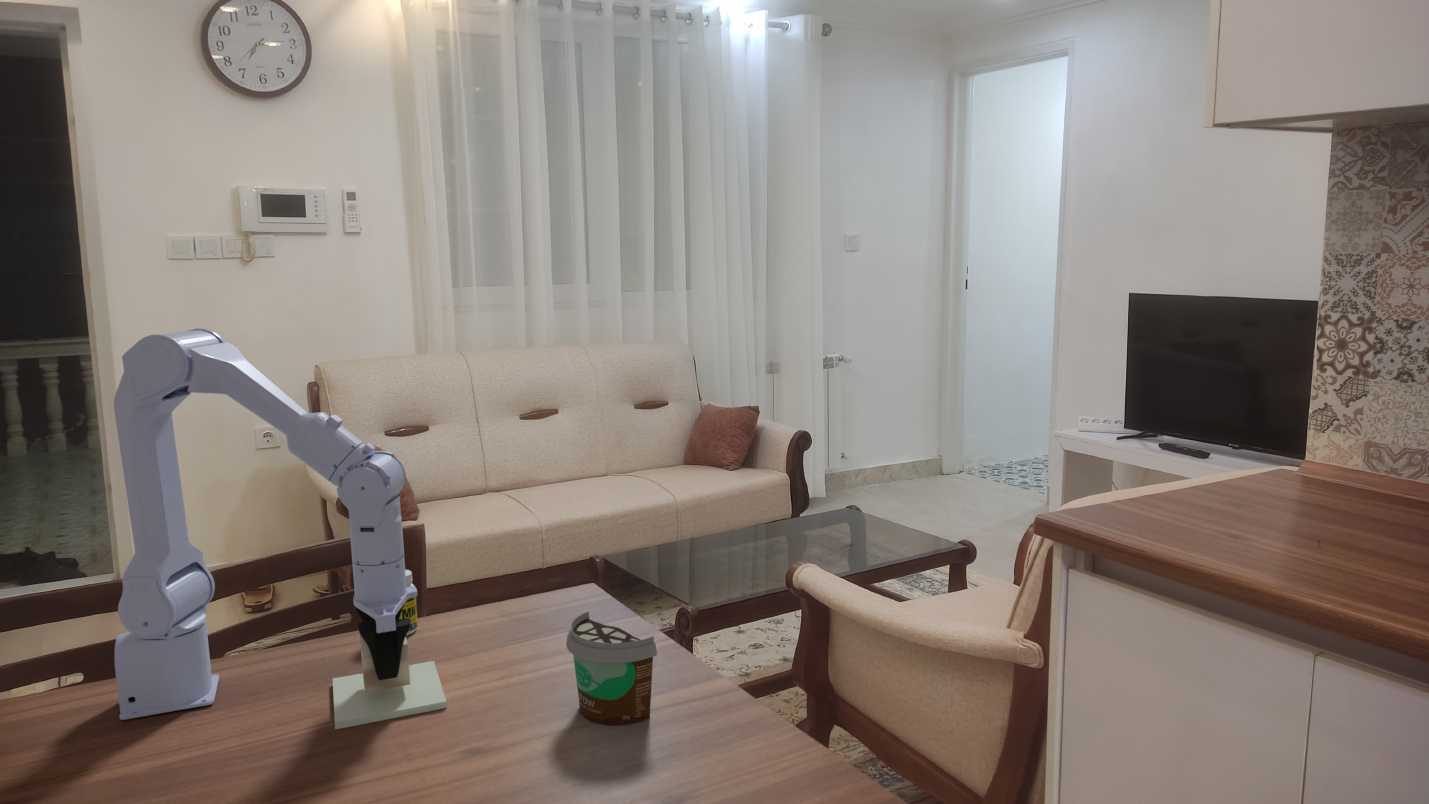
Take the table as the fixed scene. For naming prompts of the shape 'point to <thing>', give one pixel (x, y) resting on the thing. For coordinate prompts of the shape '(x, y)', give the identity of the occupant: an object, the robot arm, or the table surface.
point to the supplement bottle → (410, 606)
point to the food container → (611, 672)
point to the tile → (387, 697)
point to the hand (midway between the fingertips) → (386, 668)
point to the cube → (371, 677)
